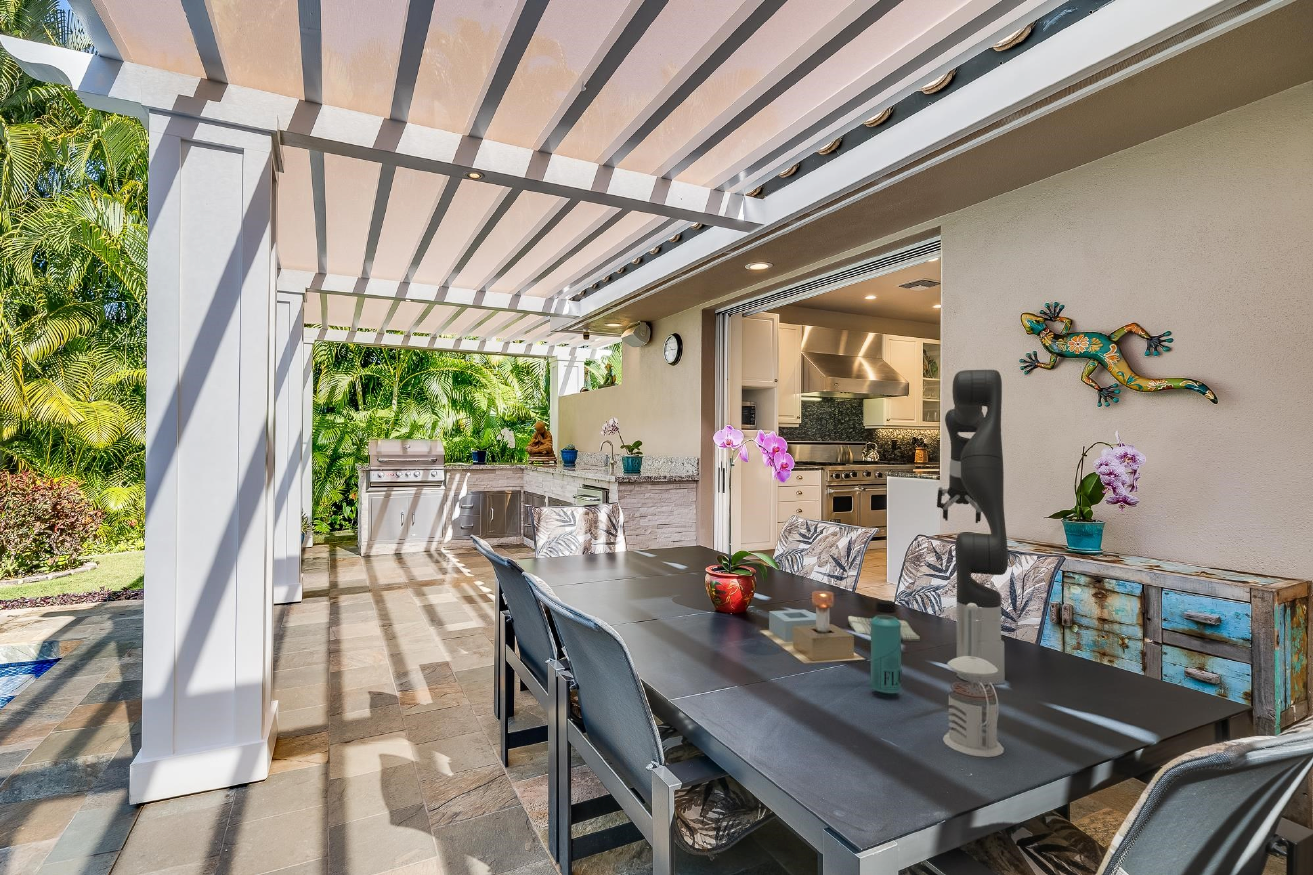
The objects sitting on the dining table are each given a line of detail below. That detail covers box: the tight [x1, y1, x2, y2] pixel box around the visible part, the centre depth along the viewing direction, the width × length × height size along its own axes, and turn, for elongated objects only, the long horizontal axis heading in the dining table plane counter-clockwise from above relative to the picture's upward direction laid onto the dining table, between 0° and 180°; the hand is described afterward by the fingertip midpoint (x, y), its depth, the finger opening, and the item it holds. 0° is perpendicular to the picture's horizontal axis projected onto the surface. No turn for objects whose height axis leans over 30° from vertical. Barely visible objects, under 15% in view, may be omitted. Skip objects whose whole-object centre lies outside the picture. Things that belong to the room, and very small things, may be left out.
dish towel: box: [847, 615, 921, 642], centre depth 188 cm, size 19×18×3 cm
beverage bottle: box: [869, 599, 903, 694], centre depth 138 cm, size 6×7×20 cm
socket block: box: [768, 609, 816, 642], centre depth 178 cm, size 11×11×6 cm
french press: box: [942, 603, 1005, 758], centre depth 115 cm, size 10×12×25 cm
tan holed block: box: [793, 623, 855, 661], centre depth 162 cm, size 11×11×6 cm
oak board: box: [759, 629, 865, 664], centre depth 170 cm, size 29×16×2 cm, turn 12°
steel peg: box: [811, 590, 834, 634], centre depth 162 cm, size 5×5×15 cm
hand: (961, 520), depth 201 cm, fingers open, 8 cm apart
